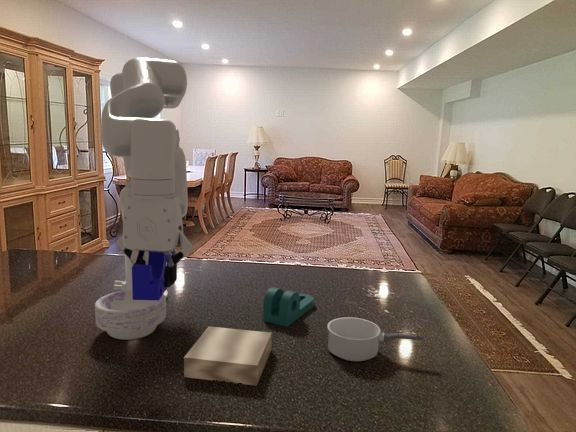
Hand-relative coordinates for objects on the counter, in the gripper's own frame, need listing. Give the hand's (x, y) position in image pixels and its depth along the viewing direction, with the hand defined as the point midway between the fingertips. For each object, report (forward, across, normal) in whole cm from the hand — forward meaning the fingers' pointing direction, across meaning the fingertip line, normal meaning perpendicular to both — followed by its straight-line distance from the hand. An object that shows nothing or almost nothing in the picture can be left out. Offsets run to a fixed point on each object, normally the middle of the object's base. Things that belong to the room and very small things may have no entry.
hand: (155, 282), depth 83 cm
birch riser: (+17, +14, +5) cm, 22 cm away
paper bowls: (+18, -12, +14) cm, 25 cm away
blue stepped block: (+1, 0, 0) cm, 1 cm away
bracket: (+18, +22, +34) cm, 44 cm away
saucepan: (+18, +42, +15) cm, 48 cm away
